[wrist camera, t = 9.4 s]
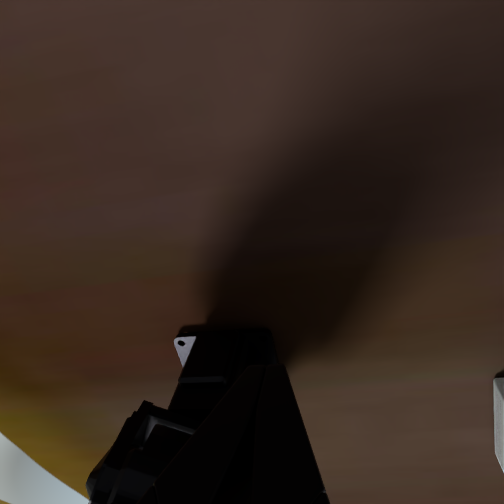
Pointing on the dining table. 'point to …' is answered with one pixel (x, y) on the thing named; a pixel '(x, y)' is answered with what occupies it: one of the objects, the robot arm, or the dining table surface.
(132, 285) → the dining table surface
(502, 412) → the supplement box
